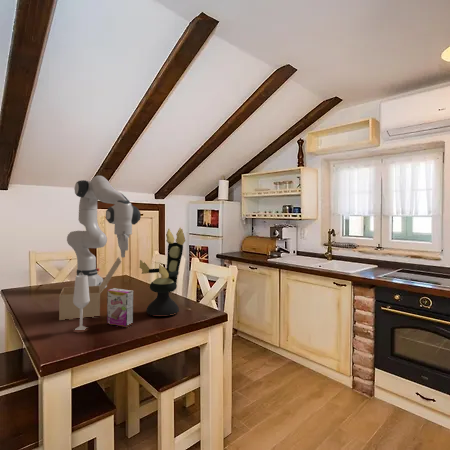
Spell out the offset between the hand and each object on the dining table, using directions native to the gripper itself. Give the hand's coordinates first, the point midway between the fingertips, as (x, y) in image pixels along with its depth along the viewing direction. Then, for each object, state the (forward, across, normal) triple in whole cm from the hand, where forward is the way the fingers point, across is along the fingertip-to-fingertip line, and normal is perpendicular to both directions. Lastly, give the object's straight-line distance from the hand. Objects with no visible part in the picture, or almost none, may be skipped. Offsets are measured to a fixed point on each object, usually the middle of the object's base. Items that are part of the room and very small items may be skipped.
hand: (122, 257), depth 169 cm
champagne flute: (+28, -24, +19) cm, 42 cm away
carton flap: (+9, 0, +6) cm, 11 cm away
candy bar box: (+28, -23, +2) cm, 37 cm away
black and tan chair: (+29, -10, -21) cm, 37 cm away
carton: (+28, 0, +20) cm, 35 cm away
